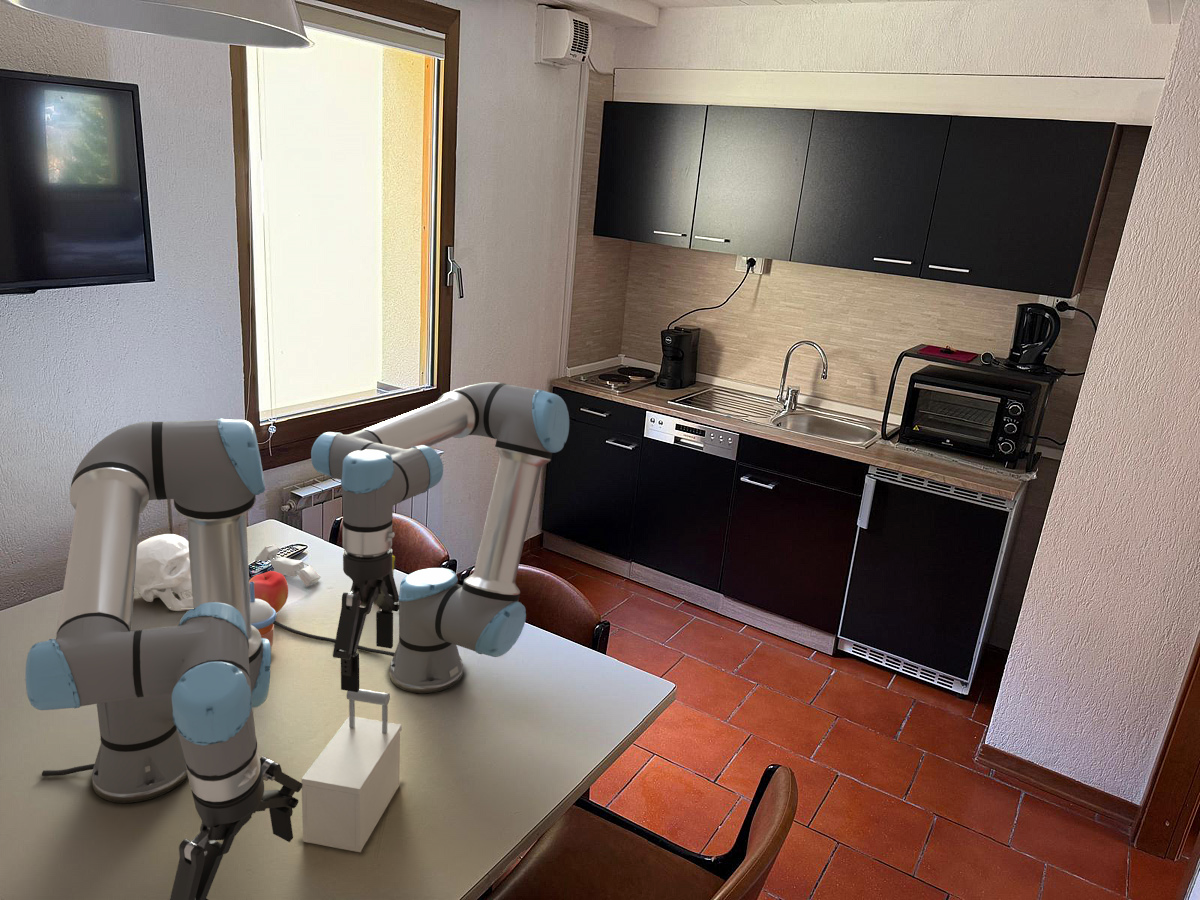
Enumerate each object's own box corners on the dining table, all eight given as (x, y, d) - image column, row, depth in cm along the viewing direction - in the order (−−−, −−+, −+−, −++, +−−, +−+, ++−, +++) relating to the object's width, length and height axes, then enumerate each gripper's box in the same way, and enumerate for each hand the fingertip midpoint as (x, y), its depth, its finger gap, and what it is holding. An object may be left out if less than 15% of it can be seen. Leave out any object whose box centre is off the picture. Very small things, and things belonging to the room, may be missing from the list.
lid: (349, 720, 148) (348, 677, 145) (401, 729, 146) (402, 686, 144) (301, 784, 132) (299, 737, 129) (359, 795, 130) (359, 747, 128)
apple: (273, 600, 207) (272, 562, 204) (297, 613, 202) (296, 575, 199) (237, 614, 200) (234, 575, 197) (261, 628, 194) (259, 588, 191)
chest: (348, 775, 150) (347, 723, 147) (399, 785, 149) (400, 732, 146) (303, 841, 135) (301, 784, 132) (360, 852, 134) (359, 795, 130)
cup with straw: (262, 673, 177) (258, 595, 172) (223, 666, 179) (218, 588, 174) (286, 652, 186) (283, 577, 181) (248, 645, 187) (244, 570, 182)
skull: (191, 620, 195) (189, 556, 191) (114, 601, 201) (110, 538, 197) (232, 597, 208) (230, 537, 203) (157, 580, 213) (154, 520, 209)
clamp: (253, 565, 223) (254, 542, 221) (265, 560, 226) (266, 537, 224) (309, 593, 215) (310, 569, 213) (320, 588, 218) (321, 564, 216)
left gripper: (164, 885, 87) (194, 986, 99) (324, 712, 107) (333, 813, 118) (109, 853, 89) (144, 956, 101) (275, 689, 109) (289, 791, 121)
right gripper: (356, 586, 122) (357, 714, 128) (419, 522, 145) (417, 633, 152) (307, 578, 123) (310, 706, 129) (377, 517, 146) (377, 627, 153)
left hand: (246, 879), depth 110 cm, fingers open, 13 cm apart
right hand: (368, 667), depth 140 cm, fingers open, 13 cm apart
